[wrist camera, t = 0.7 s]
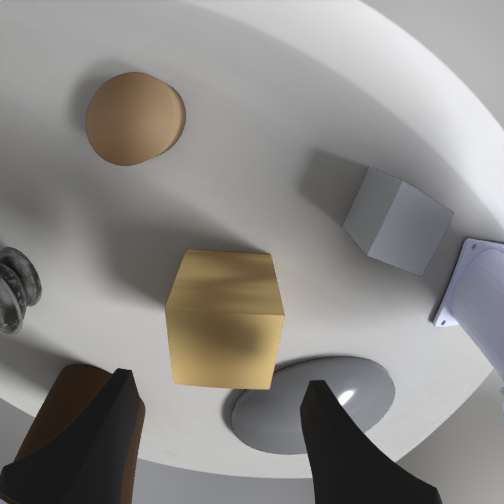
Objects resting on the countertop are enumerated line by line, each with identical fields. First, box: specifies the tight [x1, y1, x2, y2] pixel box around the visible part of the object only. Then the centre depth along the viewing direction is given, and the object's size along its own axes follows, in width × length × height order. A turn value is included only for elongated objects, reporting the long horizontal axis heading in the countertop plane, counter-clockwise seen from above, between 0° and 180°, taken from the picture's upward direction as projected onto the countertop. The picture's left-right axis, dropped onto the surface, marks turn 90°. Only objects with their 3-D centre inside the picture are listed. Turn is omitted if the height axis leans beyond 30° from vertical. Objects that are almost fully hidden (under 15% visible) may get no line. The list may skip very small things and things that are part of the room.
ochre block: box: [165, 249, 285, 389], centre depth 16 cm, size 5×5×6 cm
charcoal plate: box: [232, 357, 395, 455], centre depth 24 cm, size 16×16×1 cm
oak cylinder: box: [86, 72, 186, 166], centre depth 12 cm, size 4×4×3 cm
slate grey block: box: [342, 167, 454, 277], centre depth 15 cm, size 4×4×4 cm
